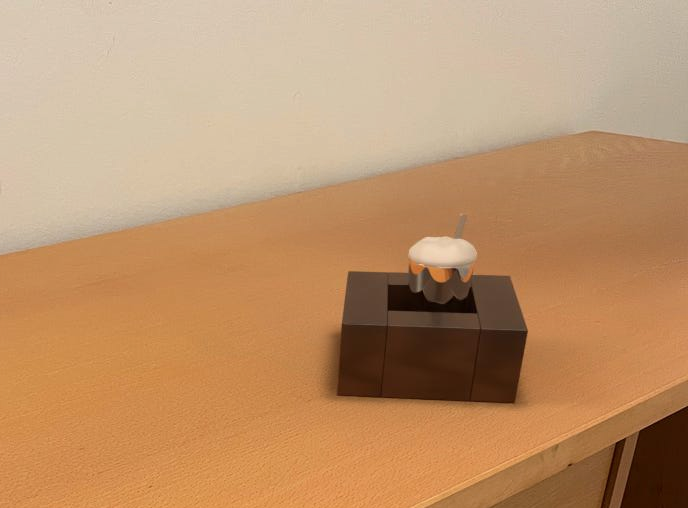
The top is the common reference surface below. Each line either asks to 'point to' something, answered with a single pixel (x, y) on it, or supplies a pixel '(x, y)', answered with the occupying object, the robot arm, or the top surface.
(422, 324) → the holder
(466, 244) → the milkshake
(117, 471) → the top surface
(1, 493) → the top surface
